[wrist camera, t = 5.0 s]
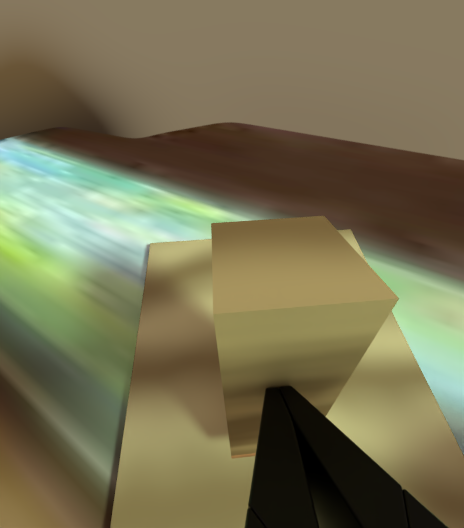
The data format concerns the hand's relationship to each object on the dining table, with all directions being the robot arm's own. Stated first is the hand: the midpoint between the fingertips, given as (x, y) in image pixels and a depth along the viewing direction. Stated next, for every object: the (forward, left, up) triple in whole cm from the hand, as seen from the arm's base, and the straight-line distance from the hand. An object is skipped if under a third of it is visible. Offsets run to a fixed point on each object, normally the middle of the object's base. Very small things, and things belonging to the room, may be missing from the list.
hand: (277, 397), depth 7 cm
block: (0, -1, -8) cm, 8 cm away
